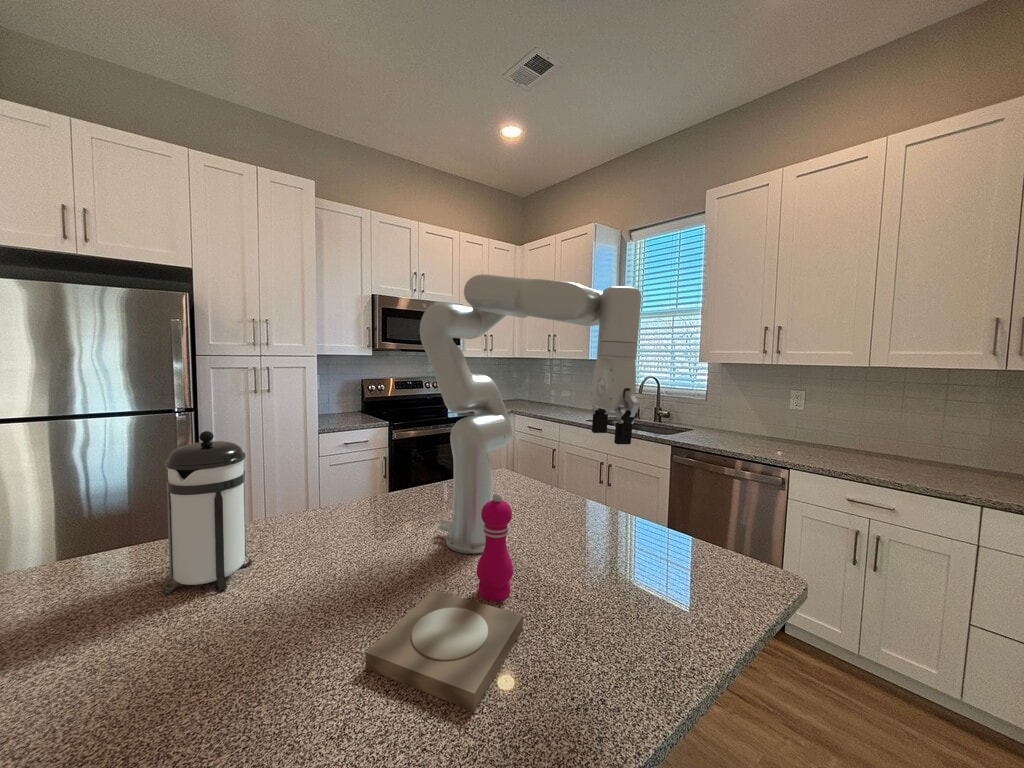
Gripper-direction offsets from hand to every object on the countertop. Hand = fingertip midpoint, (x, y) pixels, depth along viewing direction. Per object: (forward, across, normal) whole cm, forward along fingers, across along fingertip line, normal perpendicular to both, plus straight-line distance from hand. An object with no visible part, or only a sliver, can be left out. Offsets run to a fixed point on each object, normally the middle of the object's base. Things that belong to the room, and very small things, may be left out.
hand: (610, 438), depth 82 cm
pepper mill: (+32, -2, -22) cm, 38 cm away
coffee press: (+33, -20, -77) cm, 86 cm away
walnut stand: (+31, +12, -32) cm, 46 cm away
